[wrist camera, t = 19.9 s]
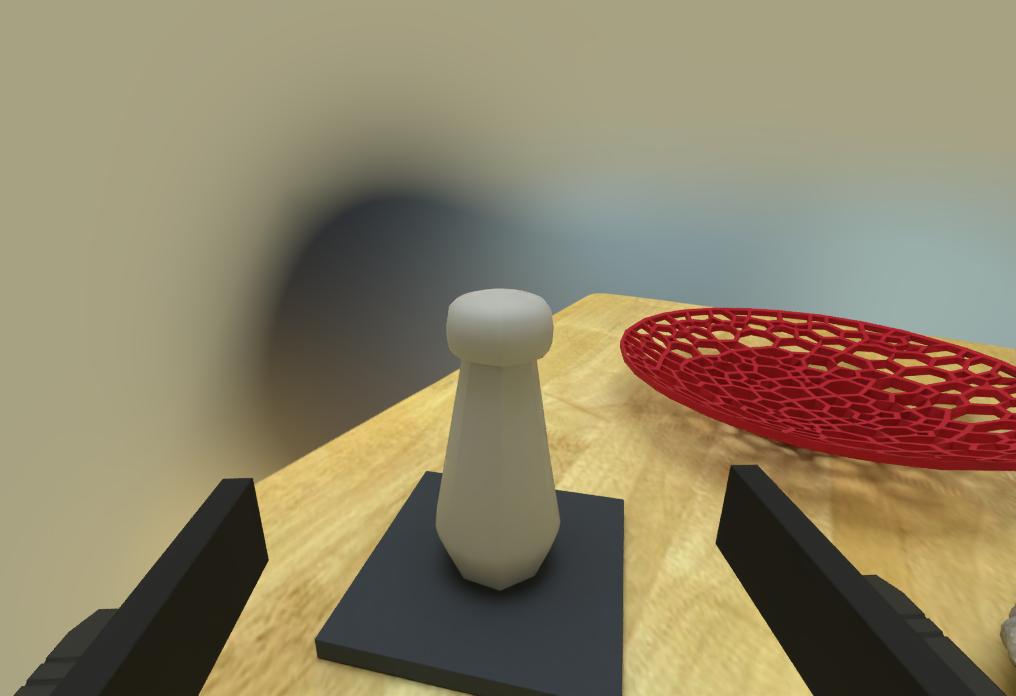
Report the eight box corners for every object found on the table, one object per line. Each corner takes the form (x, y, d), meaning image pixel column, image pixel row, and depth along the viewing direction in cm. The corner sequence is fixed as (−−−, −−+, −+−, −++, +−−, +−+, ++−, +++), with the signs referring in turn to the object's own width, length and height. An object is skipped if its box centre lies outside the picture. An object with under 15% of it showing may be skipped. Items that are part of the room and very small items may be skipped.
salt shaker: (411, 565, 23) (392, 297, 19) (485, 502, 28) (484, 273, 23) (513, 628, 20) (520, 325, 16) (579, 546, 25) (598, 291, 20)
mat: (317, 657, 20) (314, 639, 20) (426, 484, 31) (426, 470, 31) (619, 729, 18) (622, 710, 17) (622, 513, 29) (623, 499, 28)
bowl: (1197, 512, 29) (1242, 438, 28) (747, 574, 24) (767, 488, 23) (820, 345, 56) (831, 303, 55) (572, 359, 52) (575, 312, 50)
